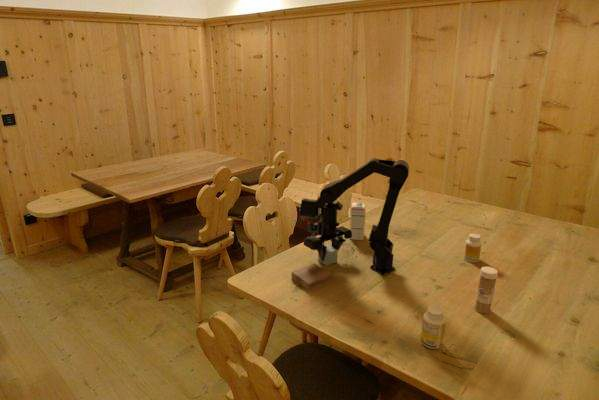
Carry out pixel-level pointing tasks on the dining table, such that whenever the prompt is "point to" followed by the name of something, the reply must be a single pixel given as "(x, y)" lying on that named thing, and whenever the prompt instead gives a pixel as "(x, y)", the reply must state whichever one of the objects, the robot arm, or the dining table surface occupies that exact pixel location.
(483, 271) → the sprinkles bottle
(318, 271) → the walnut block
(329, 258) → the gray cube
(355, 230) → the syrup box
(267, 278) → the dining table surface
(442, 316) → the supplement bottle
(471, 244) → the supplement bottle
